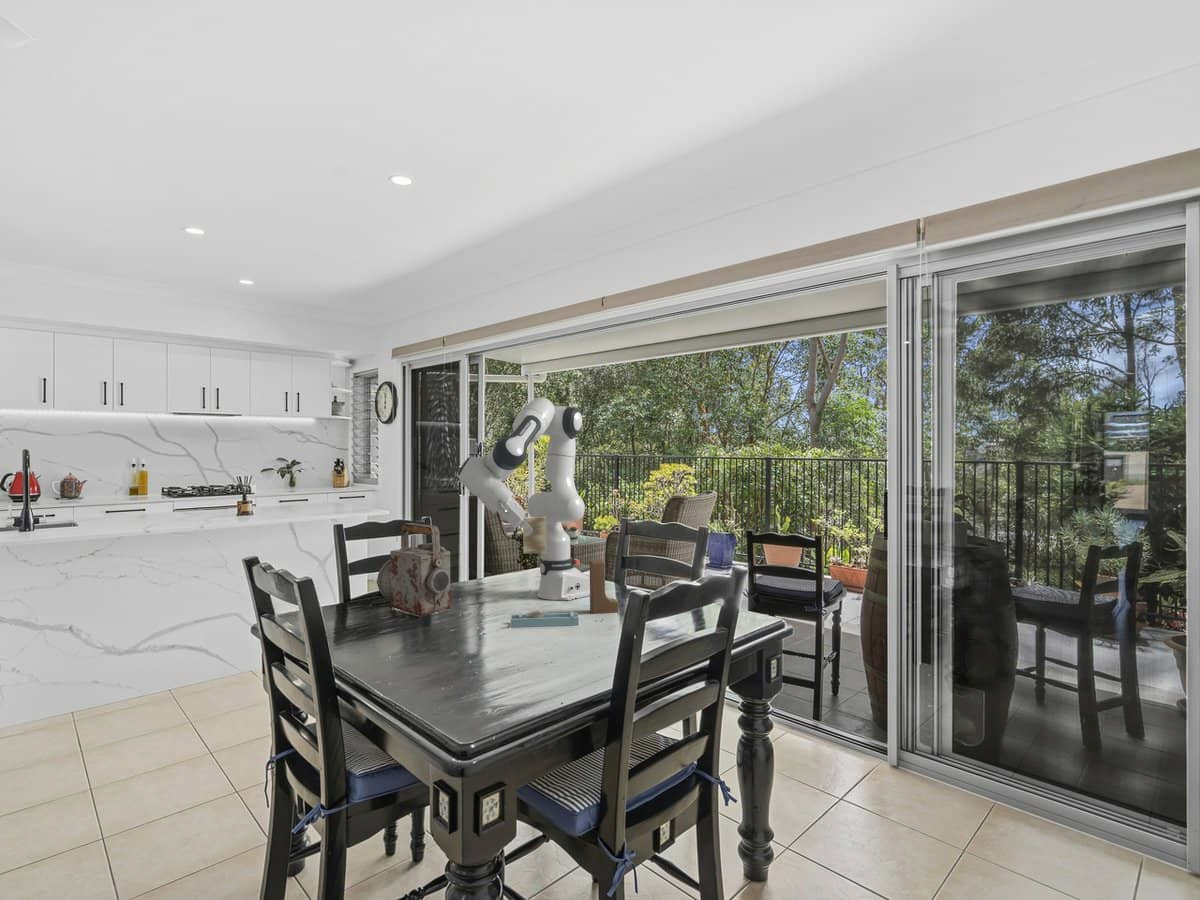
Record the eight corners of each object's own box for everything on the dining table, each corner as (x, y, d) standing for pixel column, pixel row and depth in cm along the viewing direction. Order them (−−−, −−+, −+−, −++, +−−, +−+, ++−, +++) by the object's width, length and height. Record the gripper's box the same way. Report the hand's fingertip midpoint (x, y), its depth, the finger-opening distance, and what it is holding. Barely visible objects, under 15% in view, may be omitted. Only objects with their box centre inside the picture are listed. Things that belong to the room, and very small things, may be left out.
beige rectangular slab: (523, 553, 198) (523, 518, 198) (523, 552, 201) (523, 517, 200) (546, 552, 199) (545, 517, 198) (546, 551, 201) (545, 516, 201)
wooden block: (615, 611, 217) (615, 559, 217) (618, 615, 213) (618, 561, 213) (589, 613, 216) (589, 560, 216) (592, 617, 211) (591, 562, 211)
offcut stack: (524, 625, 198) (523, 612, 198) (524, 623, 201) (524, 611, 201) (543, 625, 199) (543, 612, 199) (543, 623, 201) (543, 610, 201)
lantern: (413, 599, 237) (412, 519, 237) (459, 611, 220) (458, 524, 220) (374, 608, 225) (373, 523, 225) (420, 621, 208) (419, 529, 207)
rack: (508, 632, 195) (508, 619, 195) (510, 624, 204) (510, 611, 204) (580, 630, 196) (580, 617, 196) (579, 622, 205) (579, 609, 205)
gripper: (504, 495, 188) (538, 528, 189) (509, 490, 209) (539, 519, 210) (489, 511, 188) (523, 543, 189) (495, 504, 208) (526, 533, 209)
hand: (531, 530), depth 199 cm, fingers closed on beige rectangular slab, 2 cm apart
